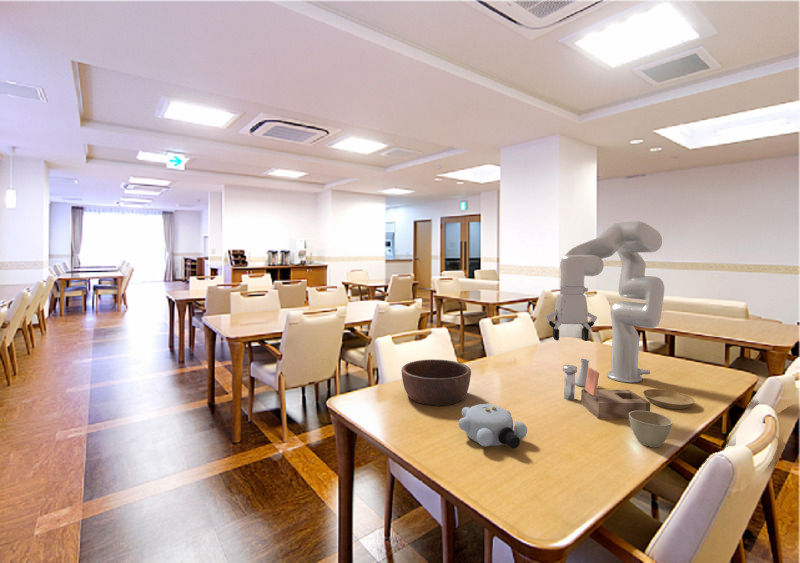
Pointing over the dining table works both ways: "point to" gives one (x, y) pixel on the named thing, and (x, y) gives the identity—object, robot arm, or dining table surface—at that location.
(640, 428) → the beige bowl
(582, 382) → the flask
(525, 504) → the dining table surface
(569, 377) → the pin
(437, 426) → the dining table surface
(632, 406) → the block
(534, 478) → the dining table surface
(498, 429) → the figurine
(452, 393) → the wooden bowl
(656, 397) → the plant saucer
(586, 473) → the dining table surface
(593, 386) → the plate
